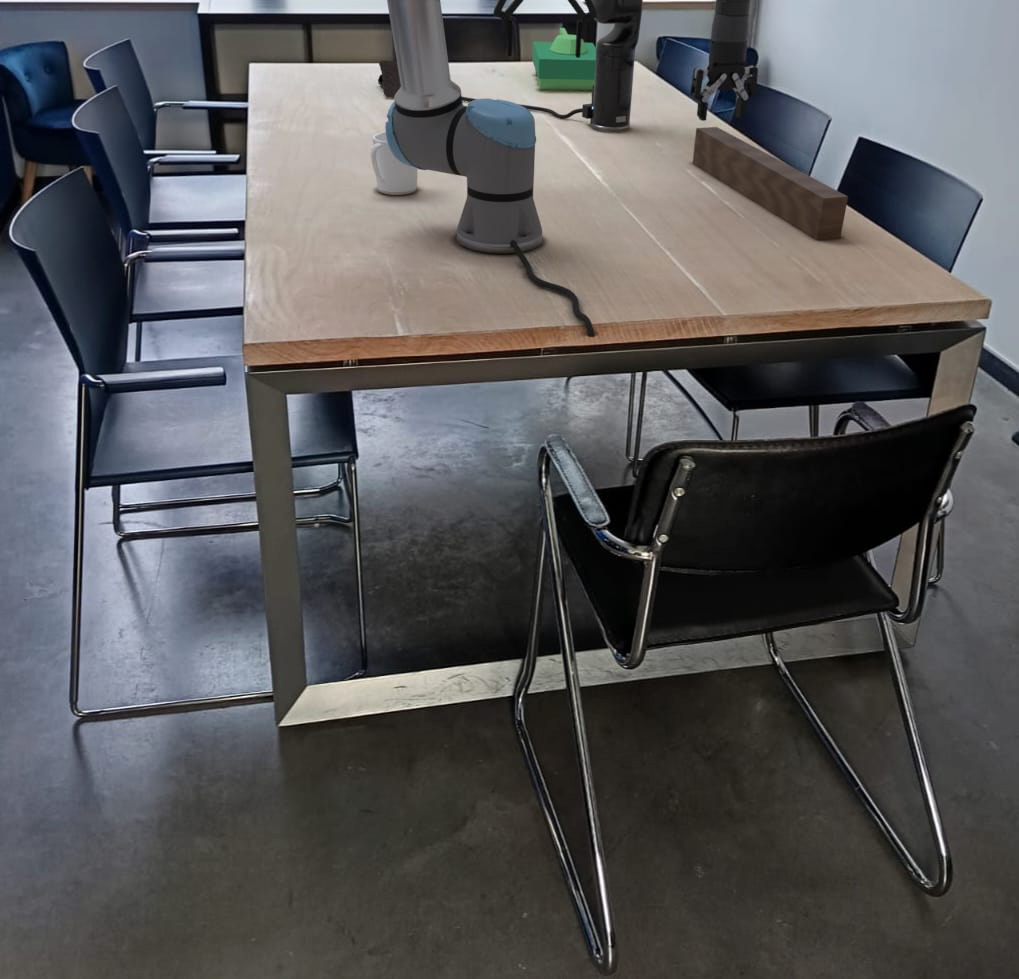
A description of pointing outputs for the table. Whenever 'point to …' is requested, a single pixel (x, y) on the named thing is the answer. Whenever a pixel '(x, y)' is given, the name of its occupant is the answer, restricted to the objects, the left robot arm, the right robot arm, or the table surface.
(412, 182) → the mug
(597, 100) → the right robot arm
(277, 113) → the table surface
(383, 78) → the axe head
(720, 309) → the table surface
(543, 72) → the toy tank
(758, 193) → the beam
